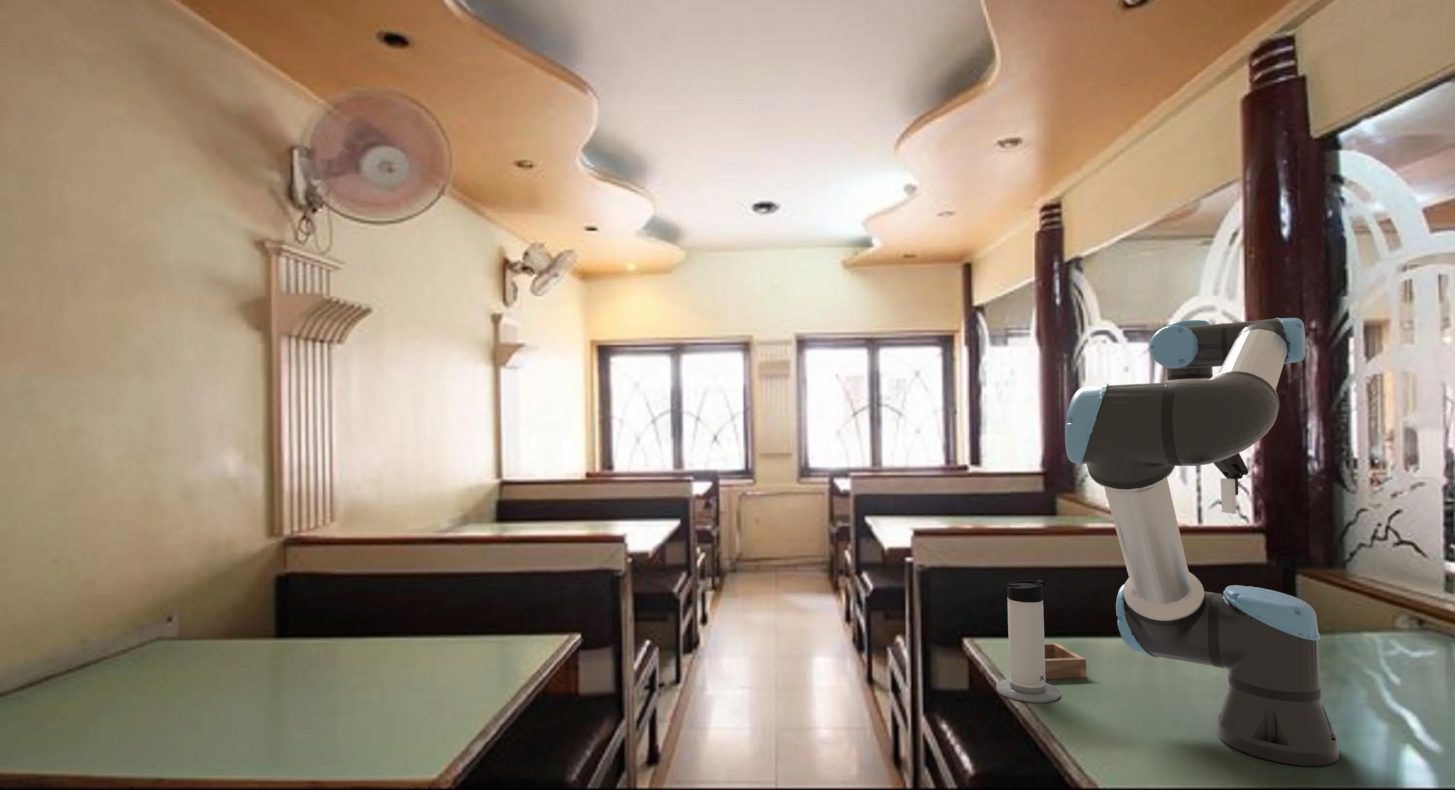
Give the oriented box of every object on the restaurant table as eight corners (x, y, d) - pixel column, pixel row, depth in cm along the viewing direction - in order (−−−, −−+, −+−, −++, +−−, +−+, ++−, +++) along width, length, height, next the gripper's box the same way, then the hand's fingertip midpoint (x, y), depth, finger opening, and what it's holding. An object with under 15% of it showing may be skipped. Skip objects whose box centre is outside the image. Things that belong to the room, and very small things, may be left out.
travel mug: (1053, 694, 135) (1049, 584, 136) (1016, 694, 136) (1013, 584, 136) (1039, 682, 142) (1036, 577, 142) (1005, 682, 142) (1002, 577, 143)
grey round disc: (1071, 701, 134) (1071, 698, 134) (1012, 704, 133) (1012, 700, 133) (1041, 680, 144) (1041, 677, 144) (986, 682, 144) (986, 679, 144)
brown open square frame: (1086, 677, 146) (1086, 659, 146) (1035, 679, 145) (1035, 661, 145) (1056, 659, 157) (1056, 642, 157) (1009, 660, 157) (1008, 644, 157)
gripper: (1237, 402, 146) (1241, 510, 145) (1116, 403, 144) (1120, 512, 143) (1267, 400, 138) (1272, 514, 138) (1140, 402, 137) (1145, 517, 136)
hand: (1195, 513), depth 140 cm, fingers open, 13 cm apart
